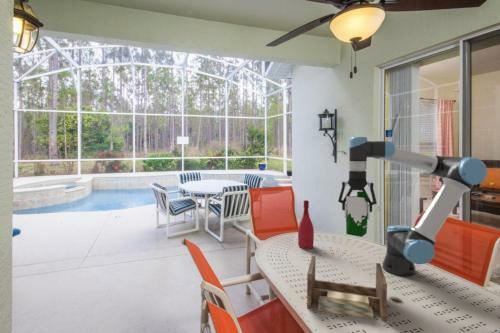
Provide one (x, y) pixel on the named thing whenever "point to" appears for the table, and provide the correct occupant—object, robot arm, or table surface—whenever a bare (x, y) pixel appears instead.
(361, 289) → the walnut rack
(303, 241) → the wine bottle
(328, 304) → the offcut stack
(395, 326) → the table surface
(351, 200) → the soya milk
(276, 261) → the table surface
